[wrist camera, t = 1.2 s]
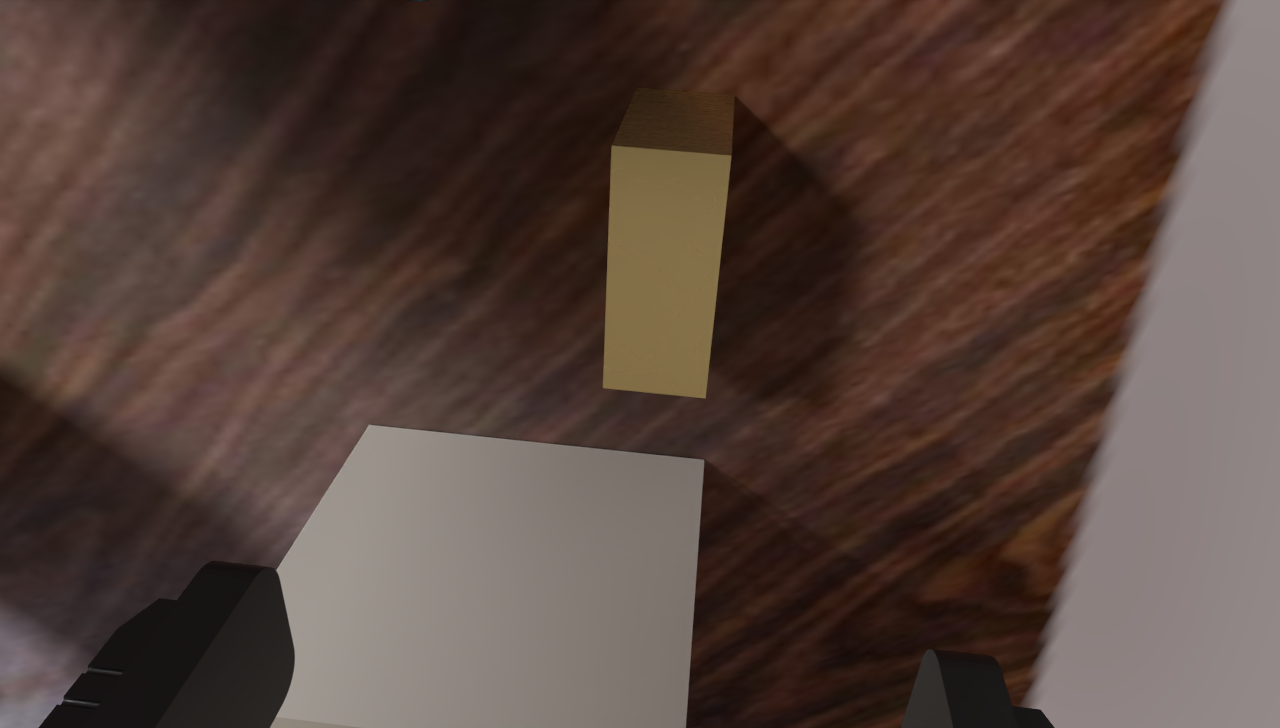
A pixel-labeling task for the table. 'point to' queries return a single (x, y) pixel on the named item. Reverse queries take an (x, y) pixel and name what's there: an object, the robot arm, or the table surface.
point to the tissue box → (494, 587)
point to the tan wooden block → (666, 240)
